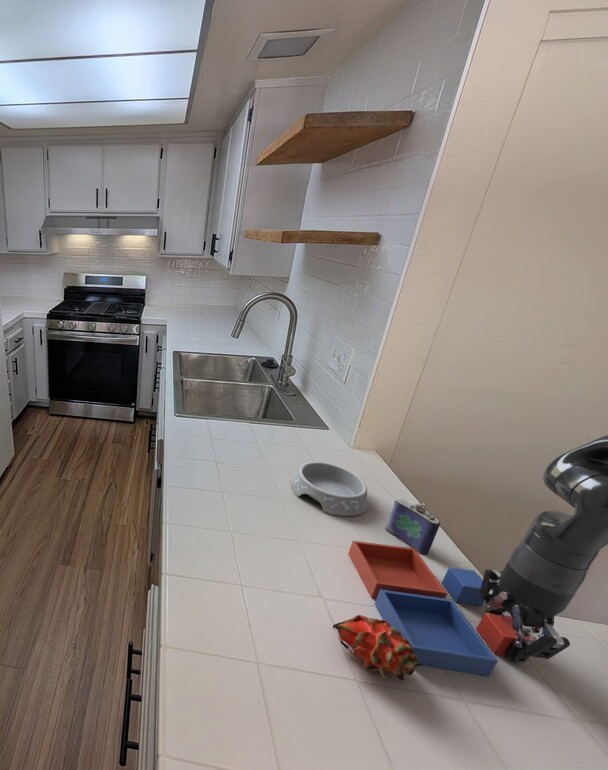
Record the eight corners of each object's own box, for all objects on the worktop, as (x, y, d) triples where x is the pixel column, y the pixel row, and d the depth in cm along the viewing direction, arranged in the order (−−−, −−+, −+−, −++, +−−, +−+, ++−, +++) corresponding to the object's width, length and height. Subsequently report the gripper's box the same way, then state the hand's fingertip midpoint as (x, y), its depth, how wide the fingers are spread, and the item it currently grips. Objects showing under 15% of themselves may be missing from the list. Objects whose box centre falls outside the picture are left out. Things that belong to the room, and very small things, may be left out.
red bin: (408, 561, 85) (414, 548, 83) (440, 608, 74) (447, 593, 73) (348, 554, 87) (352, 540, 85) (371, 597, 76) (376, 583, 75)
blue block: (466, 586, 79) (474, 570, 77) (481, 606, 75) (491, 589, 73) (441, 583, 80) (448, 567, 78) (455, 602, 75) (464, 586, 74)
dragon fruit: (415, 695, 62) (330, 655, 70) (420, 639, 65) (338, 606, 73) (421, 693, 56) (327, 649, 64) (426, 631, 60) (336, 597, 67)
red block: (503, 633, 70) (514, 616, 68) (524, 659, 66) (536, 641, 64) (475, 629, 70) (485, 612, 69) (494, 654, 66) (504, 636, 65)
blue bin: (444, 614, 73) (452, 599, 72) (488, 676, 63) (498, 661, 62) (374, 603, 75) (379, 589, 74) (405, 662, 65) (412, 647, 64)
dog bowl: (312, 467, 117) (316, 452, 115) (379, 501, 103) (385, 484, 101) (278, 486, 109) (282, 471, 107) (346, 526, 95) (351, 508, 92)
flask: (382, 528, 94) (395, 493, 90) (390, 525, 95) (404, 490, 91) (423, 556, 86) (440, 519, 82) (431, 553, 87) (448, 515, 83)
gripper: (618, 618, 54) (562, 691, 61) (532, 542, 67) (493, 609, 74) (555, 609, 55) (507, 682, 62) (483, 536, 68) (449, 602, 75)
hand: (500, 642), depth 68 cm, fingers open, 5 cm apart
